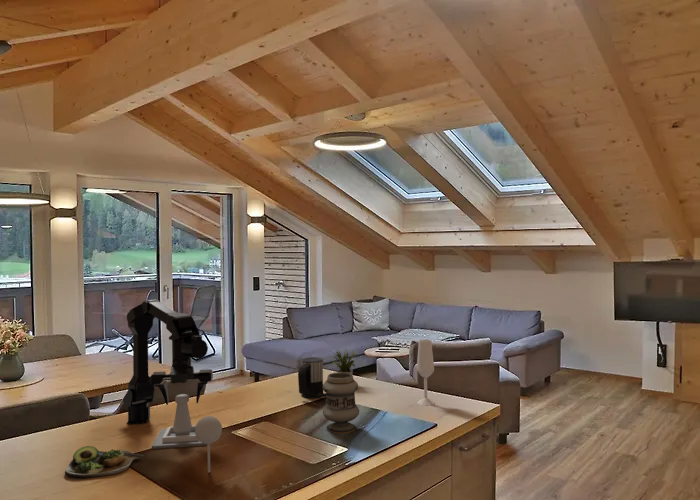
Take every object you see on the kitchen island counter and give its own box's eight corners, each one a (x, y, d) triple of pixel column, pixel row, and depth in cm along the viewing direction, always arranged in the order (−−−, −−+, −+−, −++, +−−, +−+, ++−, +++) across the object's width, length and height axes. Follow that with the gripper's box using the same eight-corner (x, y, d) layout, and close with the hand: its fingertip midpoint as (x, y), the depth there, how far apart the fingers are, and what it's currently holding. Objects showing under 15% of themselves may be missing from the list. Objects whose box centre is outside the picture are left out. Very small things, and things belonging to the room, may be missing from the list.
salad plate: (146, 451, 168) (146, 436, 168) (138, 475, 151) (138, 458, 151) (77, 457, 164) (76, 442, 164) (60, 483, 147) (59, 465, 147)
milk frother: (304, 392, 233) (303, 356, 233) (341, 393, 231) (341, 357, 231) (295, 401, 219) (295, 363, 219) (335, 402, 217) (335, 364, 217)
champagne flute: (437, 401, 216) (436, 339, 216) (430, 406, 211) (429, 342, 211) (421, 399, 220) (420, 338, 220) (414, 403, 214) (413, 341, 214)
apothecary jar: (315, 429, 186) (314, 375, 186) (340, 420, 195) (340, 368, 195) (341, 437, 178) (341, 380, 178) (366, 428, 187) (366, 374, 186)
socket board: (151, 448, 170) (151, 441, 170) (161, 431, 185) (161, 424, 185) (205, 445, 172) (205, 437, 172) (210, 428, 188) (210, 421, 188)
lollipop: (198, 467, 155) (197, 413, 155) (224, 466, 156) (223, 412, 155) (193, 478, 148) (192, 421, 148) (220, 476, 148) (219, 420, 148)
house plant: (322, 388, 238) (322, 350, 238) (329, 380, 252) (328, 344, 252) (355, 389, 236) (355, 351, 236) (360, 381, 250) (360, 345, 249)
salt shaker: (186, 439, 175) (185, 397, 175) (169, 438, 177) (168, 396, 176) (195, 433, 181) (194, 393, 181) (179, 432, 182) (178, 392, 182)
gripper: (145, 361, 169) (146, 412, 169) (209, 358, 172) (210, 409, 172) (153, 354, 180) (153, 402, 180) (212, 351, 183) (213, 399, 183)
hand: (182, 403), depth 179 cm, fingers open, 9 cm apart
